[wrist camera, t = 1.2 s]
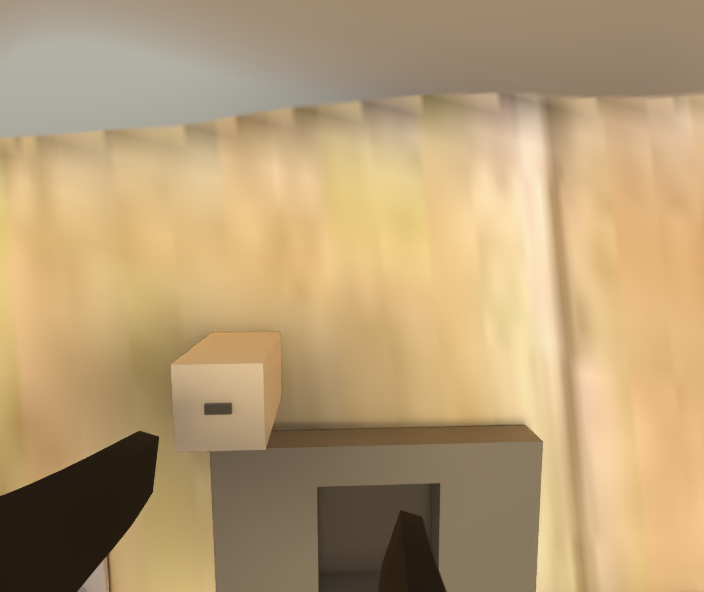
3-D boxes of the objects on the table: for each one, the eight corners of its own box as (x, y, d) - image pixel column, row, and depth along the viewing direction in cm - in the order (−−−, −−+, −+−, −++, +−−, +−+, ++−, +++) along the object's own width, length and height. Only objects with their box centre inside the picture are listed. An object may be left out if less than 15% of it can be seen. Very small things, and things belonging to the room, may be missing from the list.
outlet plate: (227, 609, 25) (218, 641, 23) (220, 432, 23) (209, 449, 21) (518, 597, 25) (533, 627, 23) (525, 425, 24) (542, 441, 22)
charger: (214, 398, 23) (173, 453, 17) (212, 332, 23) (169, 365, 17) (281, 396, 23) (264, 451, 17) (280, 331, 23) (262, 364, 17)
